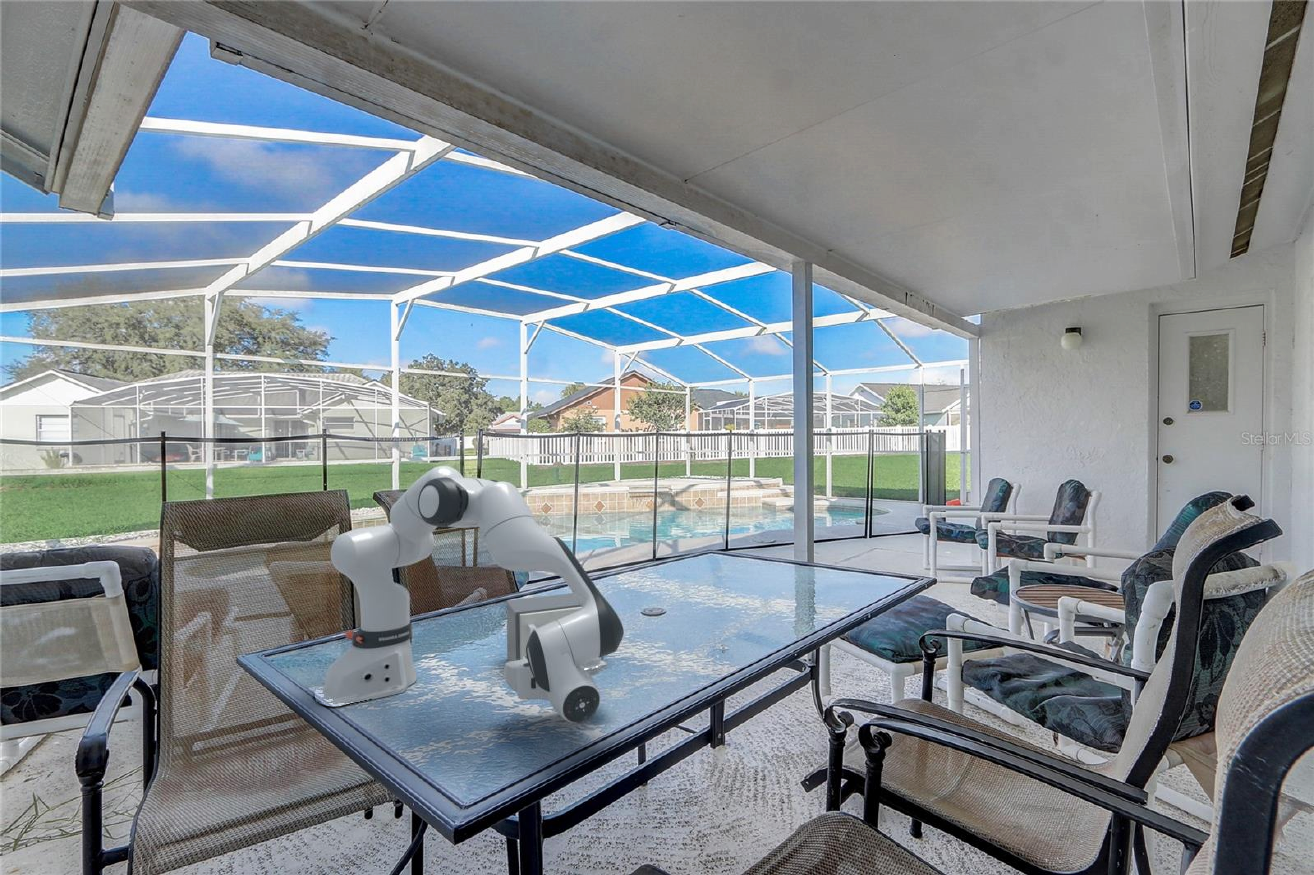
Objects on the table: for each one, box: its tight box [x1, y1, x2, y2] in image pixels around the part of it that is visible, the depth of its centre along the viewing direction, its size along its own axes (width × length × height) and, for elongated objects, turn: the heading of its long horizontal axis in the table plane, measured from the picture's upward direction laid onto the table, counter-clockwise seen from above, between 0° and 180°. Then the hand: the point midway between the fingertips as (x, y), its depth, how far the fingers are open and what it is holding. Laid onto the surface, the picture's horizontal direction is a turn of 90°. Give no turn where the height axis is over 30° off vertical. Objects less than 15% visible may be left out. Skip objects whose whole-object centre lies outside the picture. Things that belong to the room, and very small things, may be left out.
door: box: [519, 607, 604, 661], centre depth 149 cm, size 22×7×15 cm, turn 113°
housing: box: [506, 592, 582, 662], centre depth 159 cm, size 22×14×16 cm, turn 113°
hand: (546, 656), depth 133 cm, fingers open, 8 cm apart
